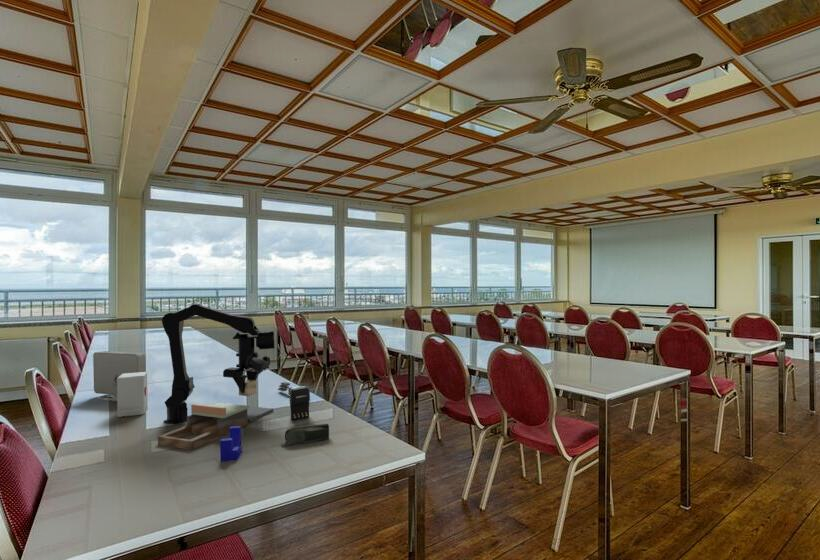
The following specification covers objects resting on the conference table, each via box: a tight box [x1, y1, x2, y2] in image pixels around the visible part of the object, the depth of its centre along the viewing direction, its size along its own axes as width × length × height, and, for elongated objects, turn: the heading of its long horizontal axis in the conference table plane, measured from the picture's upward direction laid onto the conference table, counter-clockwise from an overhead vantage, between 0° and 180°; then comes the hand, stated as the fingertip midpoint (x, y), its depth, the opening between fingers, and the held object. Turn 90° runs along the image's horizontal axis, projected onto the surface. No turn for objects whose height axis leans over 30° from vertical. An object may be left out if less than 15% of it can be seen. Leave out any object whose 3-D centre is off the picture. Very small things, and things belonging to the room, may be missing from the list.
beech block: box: [238, 378, 257, 397], centre depth 168 cm, size 4×4×5 cm
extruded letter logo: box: [277, 381, 293, 396], centre depth 192 cm, size 25×2×6 cm, turn 42°
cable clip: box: [219, 426, 243, 462], centre depth 132 cm, size 12×4×6 cm, turn 9°
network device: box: [92, 350, 147, 402], centre depth 196 cm, size 26×9×20 cm, turn 73°
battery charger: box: [289, 386, 311, 421], centre depth 162 cm, size 7×4×11 cm, turn 118°
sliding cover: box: [190, 402, 250, 418], centre depth 154 cm, size 14×12×3 cm
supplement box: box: [116, 371, 149, 418], centre depth 173 cm, size 9×9×15 cm
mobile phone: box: [280, 423, 330, 447], centre depth 139 cm, size 5×3×15 cm
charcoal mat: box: [247, 405, 274, 422], centre depth 168 cm, size 13×13×1 cm
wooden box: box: [157, 409, 248, 451], centre depth 148 cm, size 14×24×6 cm, turn 159°
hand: (247, 391), depth 168 cm, fingers closed on beech block, 4 cm apart
